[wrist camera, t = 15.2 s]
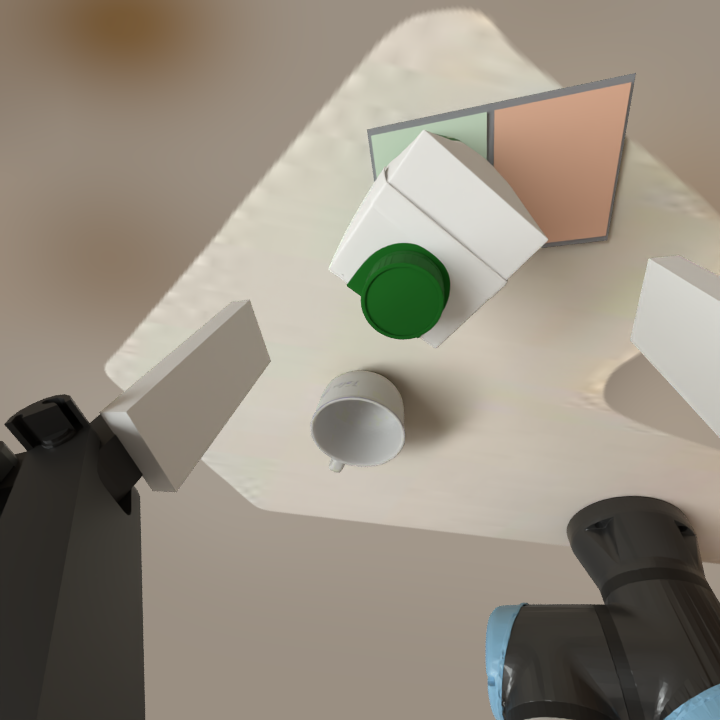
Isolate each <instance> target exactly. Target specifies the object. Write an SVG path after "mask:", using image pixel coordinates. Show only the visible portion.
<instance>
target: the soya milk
mask: <svg viewBox="0 0 720 720" xmlns="http://www.w3.org/2000/svg"><path fill="white" fill-rule="evenodd" d="M547 241H548V238H547V237H546V236H545V234H544V233H543V231H542V230H541V229H540V227H539V226H538V224H537V223H536V222H535V220H534V219H533V218H532V216H531V215H530V213H529V212H528V210H527V209H526V208H525V206H524V205H523V203H522V202H521V200H520V199H519V197H518V196H517V195H516V193H515V192H514V190H513V189H512V187H511V186H510V185H509V184H508V182H507V181H506V180H505V179H504V178H503V177H502V176H501V175H500V173H499V172H498V171H497V170H496V169H495V168H494V167H493V166H492V165H491V164H490V163H489V162H488V161H487V160H486V159H485V158H483V157H482V156H481V155H480V154H478V153H477V152H475V151H474V150H473V149H471V148H470V147H468V146H467V145H466V144H464V143H463V142H461V141H460V140H458V139H455V138H452V137H447V136H443V135H438V134H434V133H431V132H429V131H427V130H423V131H422V132H421V133H420V134H419V135H418V136H417V137H416V139H415V140H414V141H413V142H412V143H411V144H410V145H409V146H408V147H406V148H405V149H404V150H403V151H402V152H401V153H400V154H399V155H398V156H397V157H396V158H395V159H393V160H392V161H391V162H390V163H389V165H388V166H387V167H386V166H385V167H384V169H383V170H382V171H381V173H380V174H379V176H378V178H377V179H376V181H375V182H374V184H373V185H372V187H371V189H370V190H369V192H368V193H367V195H366V196H365V198H364V200H363V202H362V203H361V205H360V207H359V209H358V210H357V212H356V214H355V216H354V217H353V219H352V221H351V223H350V224H349V226H348V228H347V230H346V232H345V234H344V236H343V238H342V240H341V242H340V244H339V247H338V249H337V251H336V253H335V255H334V257H333V259H332V261H331V264H330V266H329V271H331V272H332V273H333V274H335V275H336V276H337V277H339V278H340V279H342V280H343V281H345V282H346V283H347V286H348V287H349V288H350V289H352V290H353V291H354V292H356V293H357V294H359V295H360V296H361V307H362V311H363V313H364V316H365V318H366V320H367V321H368V323H369V324H370V325H371V326H372V327H373V328H374V329H375V330H376V331H378V332H379V333H381V334H383V335H385V336H387V337H390V338H394V339H412V338H416V337H417V338H419V337H420V338H421V339H423V340H424V341H425V342H427V343H428V344H429V345H431V346H432V347H433V348H437V347H439V346H440V345H441V344H442V343H443V342H444V341H445V340H446V339H447V338H448V337H449V336H450V335H451V334H453V333H454V332H455V331H456V330H457V329H458V328H459V327H460V326H461V325H462V324H463V323H464V322H465V321H466V320H468V319H469V318H470V317H471V316H472V315H473V314H474V313H475V312H476V311H477V310H478V309H479V308H480V307H481V306H483V305H484V304H485V303H486V302H487V301H488V300H489V299H491V298H492V297H493V296H494V295H496V294H497V293H498V292H499V291H500V290H501V289H502V288H503V287H504V286H505V285H506V284H507V282H508V278H510V277H511V276H512V275H513V274H514V273H515V272H516V271H517V270H518V269H519V268H520V267H521V266H522V265H523V264H524V263H525V262H526V261H527V260H528V259H529V258H530V257H531V256H533V255H534V254H535V253H536V252H537V251H538V250H539V249H540V248H541V247H542V246H543V245H544V244H545V243H546V242H547Z"/></svg>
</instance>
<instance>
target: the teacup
mask: <svg viewBox="0 0 720 720" xmlns="http://www.w3.org/2000/svg"><path fill="white" fill-rule="evenodd" d="M311 435H312V438H313V440H314V442H315V444H316V445H317V447H319V449H320V450H321V451H322V452H324V453H325V454H326V455H328V456H329V457H331V460H330V464H329V469H330V470H331V471H334V472H337V473H338V472H341V470H342V469H343V467H344V465H345V464H347V465H351V466H358V467H371V466H376V465H380V464H384V463H386V462H388V461H390V460H391V459H393V458H394V457H396V456H397V455H398V454H399V452H400V451H401V450H402V448H403V445H404V442H405V430H404V407H403V401H402V398H401V395H400V393H399V391H398V390H397V388H396V387H395V386H394V385H393V384H392V383H391V382H390V381H389V380H388V379H386V378H385V377H383V376H381V375H379V374H377V373H374V372H370V371H362V370H358V371H350V372H346V373H344V374H341V375H339V376H338V377H336V378H335V379H333V380H332V381H331V382H330V383H329V384H328V386H327V387H326V389H325V390H324V392H323V394H322V396H321V399H320V401H319V404H318V406H317V409H316V412H315V414H314V415H313V418H312V421H311Z"/></svg>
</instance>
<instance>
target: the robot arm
mask: <svg viewBox="0 0 720 720" xmlns="http://www.w3.org/2000/svg"><path fill="white" fill-rule="evenodd" d="M630 341H631V342H632V343H633V344H634V345H635V346H636V347H637V348H638V349H639V350H640V351H641V353H642V354H643V355H644V356H645V357H646V358H647V359H648V360H649V361H650V362H651V363H652V365H653V366H654V367H655V368H656V369H657V370H658V371H659V372H660V373H661V374H662V375H663V377H664V378H665V379H666V380H667V381H668V382H669V383H670V384H671V385H672V386H673V388H674V389H675V390H676V391H677V392H678V393H679V394H680V395H681V396H682V397H683V399H684V400H685V401H686V402H687V403H688V404H689V405H690V406H691V407H692V408H693V409H694V411H696V413H697V414H698V415H699V416H700V417H701V418H702V419H703V420H704V421H705V423H706V424H707V425H708V426H709V427H710V428H711V429H712V430H713V431H714V432H715V433H716V435H717V436H718V437H719V438H720V276H719V275H717V274H715V273H713V272H711V271H709V270H707V269H705V268H703V267H701V266H699V265H698V264H696V263H694V262H692V261H690V260H688V259H686V258H684V257H682V256H680V255H675V256H665V257H656V258H649V259H648V263H647V268H646V272H645V277H644V281H643V285H642V290H641V294H640V299H639V303H638V307H637V312H636V316H635V321H634V325H633V329H632V334H631V338H630ZM270 362H271V360H270V357H269V354H268V351H267V349H266V346H265V343H264V340H263V337H262V334H261V331H260V328H259V325H258V322H257V320H256V317H255V314H254V311H253V308H252V305H251V302H250V300H243V301H233V302H231V303H230V304H228V305H227V306H226V307H225V308H224V309H222V310H221V311H220V312H219V313H218V314H216V315H215V316H214V317H213V318H212V319H211V320H209V321H208V322H207V323H206V324H205V325H203V326H202V327H201V328H200V329H199V330H197V331H196V332H195V333H194V334H193V335H191V336H190V337H189V338H188V339H187V340H185V341H184V342H183V343H182V344H181V345H179V346H178V347H177V348H176V349H175V350H173V351H172V352H171V353H170V354H169V355H168V356H166V357H165V358H164V359H163V360H162V361H160V362H159V363H158V364H157V365H156V366H154V367H153V368H152V369H151V370H150V371H148V372H147V373H146V374H145V375H144V376H142V377H141V378H140V379H139V380H138V381H136V382H135V383H134V384H133V385H132V386H131V387H129V388H128V389H127V390H126V391H125V392H123V393H122V394H121V395H120V396H119V397H117V398H116V399H115V400H114V401H113V402H112V403H110V404H109V405H108V406H107V407H106V408H104V409H103V410H102V411H101V412H100V415H99V416H98V417H97V418H95V419H94V420H93V421H92V422H91V423H89V422H88V421H87V419H86V418H85V417H84V415H83V413H82V412H81V411H80V409H79V408H78V407H77V405H76V404H75V402H74V401H73V399H72V398H71V397H70V396H69V395H65V394H64V395H56V396H52V397H49V398H46V399H43V400H40V401H38V402H36V403H33V404H31V405H29V406H27V407H26V408H24V409H22V410H20V411H19V412H17V413H16V414H15V415H14V416H12V417H11V418H10V419H9V420H8V421H7V422H6V423H5V426H6V427H7V428H8V429H9V430H10V431H11V433H12V434H13V435H14V436H15V437H16V438H17V439H18V441H19V442H20V443H21V444H22V445H23V446H24V447H25V449H26V450H27V452H23V453H19V454H14V453H13V452H12V451H11V450H10V449H9V448H8V447H7V446H6V444H5V443H4V442H3V441H0V720H145V694H144V693H145V692H144V649H143V608H142V569H141V567H142V565H141V526H140V525H141V522H140V496H139V493H138V491H137V490H136V488H135V487H134V485H135V484H136V482H137V481H138V480H139V479H140V478H141V476H143V477H144V479H145V480H146V482H147V483H148V485H149V486H150V488H151V489H152V491H164V492H177V491H178V489H179V488H180V487H181V485H182V484H183V482H184V481H185V480H186V478H187V477H188V476H189V474H190V473H191V471H192V470H193V469H194V467H195V466H196V464H197V463H198V462H199V460H200V459H201V457H202V456H203V455H204V453H205V452H206V451H207V449H208V448H209V446H210V445H211V444H212V442H213V441H214V439H215V438H216V437H217V435H218V434H219V432H220V431H221V430H222V428H223V427H224V425H225V424H226V423H227V421H228V420H229V419H230V417H231V416H232V414H233V413H234V412H235V410H236V409H237V407H238V406H239V405H240V403H241V402H242V400H243V399H244V398H245V396H246V395H247V394H248V392H249V391H250V389H251V388H252V387H253V385H254V384H255V382H256V381H257V380H258V378H259V377H260V375H261V374H262V373H263V371H264V370H265V368H266V367H267V366H268V364H269V363H270ZM567 536H568V539H569V542H570V545H571V548H572V550H573V552H574V554H575V555H576V557H577V559H578V560H579V561H580V563H581V564H582V566H583V567H584V568H585V570H586V571H587V572H588V574H589V576H590V577H591V578H592V580H593V581H594V583H595V584H596V585H597V587H598V588H599V590H600V592H601V595H602V597H603V601H604V603H605V605H591V604H590V605H588V604H586V605H585V604H581V605H578V604H576V605H575V604H571V605H570V604H569V605H568V604H563V605H562V604H557V605H556V604H555V605H554V604H553V605H529V604H528V603H521V604H520V605H506V606H499V607H497V608H495V610H494V611H493V612H492V613H491V615H490V617H489V620H488V625H487V633H486V672H487V675H488V694H489V700H490V705H491V709H492V712H493V714H494V717H495V718H496V720H720V603H719V601H718V599H717V598H716V596H715V594H714V593H713V591H712V589H711V588H710V586H709V584H708V582H707V581H706V579H705V575H704V570H703V566H702V561H701V556H700V551H699V546H698V542H697V537H696V534H695V532H694V530H693V528H692V526H691V525H690V523H689V521H688V520H687V518H686V517H685V515H684V514H683V513H682V512H681V511H680V510H679V509H678V508H676V507H675V506H673V505H671V504H669V503H666V502H664V501H661V500H657V499H652V498H646V497H619V498H612V499H607V500H603V501H600V502H597V503H594V504H592V505H589V506H587V507H585V508H584V509H582V510H580V511H579V512H578V513H577V514H575V515H574V516H573V518H572V519H571V520H570V522H569V524H568V527H567Z"/></svg>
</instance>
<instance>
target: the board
mask: <svg viewBox="0 0 720 720" xmlns="http://www.w3.org/2000/svg"><path fill="white" fill-rule="evenodd" d="M635 74H636V73H634V74H629V75H624V76H620V77H615V78H610V79H605V80H600V81H596V82H591V83H586V84H581V85H577V86H573V87H567V88H562V89H558V90H553V91H548V92H543V93H539V94H534V95H529V96H524V97H520V98H515V99H510V100H505V101H501V102H496V103H491V104H486V105H482V106H477V107H472V108H467V109H463V110H458V111H453V112H448V113H444V114H439V115H434V116H429V117H425V118H420V119H415V120H410V121H406V122H401V123H396V124H391V125H387V126H382V127H377V128H372V129H368V130H367V132H368V139H369V146H370V154H371V161H372V168H373V175H374V182H375V181H376V179H377V178H378V176H379V174H380V173H381V171H382V170H383V169H384V167H385V166H386V167H387V166H388V165H389V163H390V162H391V161H392V160H393V159H395V158H396V157H397V156H398V155H399V154H400V153H401V152H402V151H403V150H404V149H405V148H406V147H408V146H409V145H410V144H411V143H412V142H413V141H414V140H415V139H416V137H417V136H418V135H419V134H420V133H421V132H422V131H423V130H427V131H429V132H431V133H434V134H438V135H443V136H447V137H452V138H455V139H458V140H460V141H461V142H463V143H464V144H466V145H467V146H468V147H470V148H471V149H473V150H474V151H475V152H477V153H478V154H480V155H481V156H482V157H483V158H485V159H486V160H487V161H488V162H489V163H490V164H491V165H492V166H493V167H494V168H495V169H496V170H497V171H498V172H499V173H500V175H501V176H502V177H503V178H504V179H505V180H506V181H507V182H508V184H509V185H510V186H511V187H512V189H513V190H514V192H515V193H516V195H517V196H518V197H519V199H520V200H521V202H522V203H523V205H524V206H525V208H526V209H527V210H528V212H529V213H530V215H531V216H532V218H533V219H534V220H535V222H536V223H537V224H538V226H539V227H540V229H541V230H542V231H543V233H544V234H545V236H546V237H547V238H548V241H547V242H546V243H545V244H544V245H543V246H542V247H541V248H545V247H553V246H562V245H570V244H579V243H587V242H596V241H604V240H607V239H608V233H609V227H610V221H611V215H612V209H613V204H614V198H615V192H616V186H617V180H618V174H619V168H620V163H621V157H622V151H623V145H624V139H625V133H626V127H627V122H628V116H629V109H630V104H631V97H632V92H633V86H634V80H635Z"/></svg>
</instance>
